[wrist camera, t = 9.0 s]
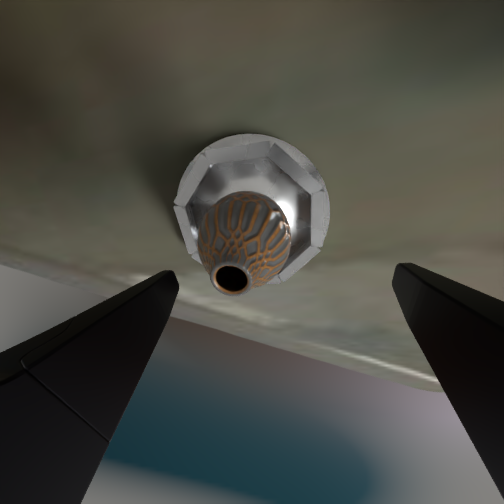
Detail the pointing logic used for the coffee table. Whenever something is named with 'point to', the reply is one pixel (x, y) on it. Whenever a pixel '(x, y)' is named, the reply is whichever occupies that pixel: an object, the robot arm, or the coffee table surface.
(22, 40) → the coffee table surface
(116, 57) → the coffee table surface
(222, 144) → the rosette plate
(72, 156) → the coffee table surface
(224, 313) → the coffee table surface
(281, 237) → the vase
